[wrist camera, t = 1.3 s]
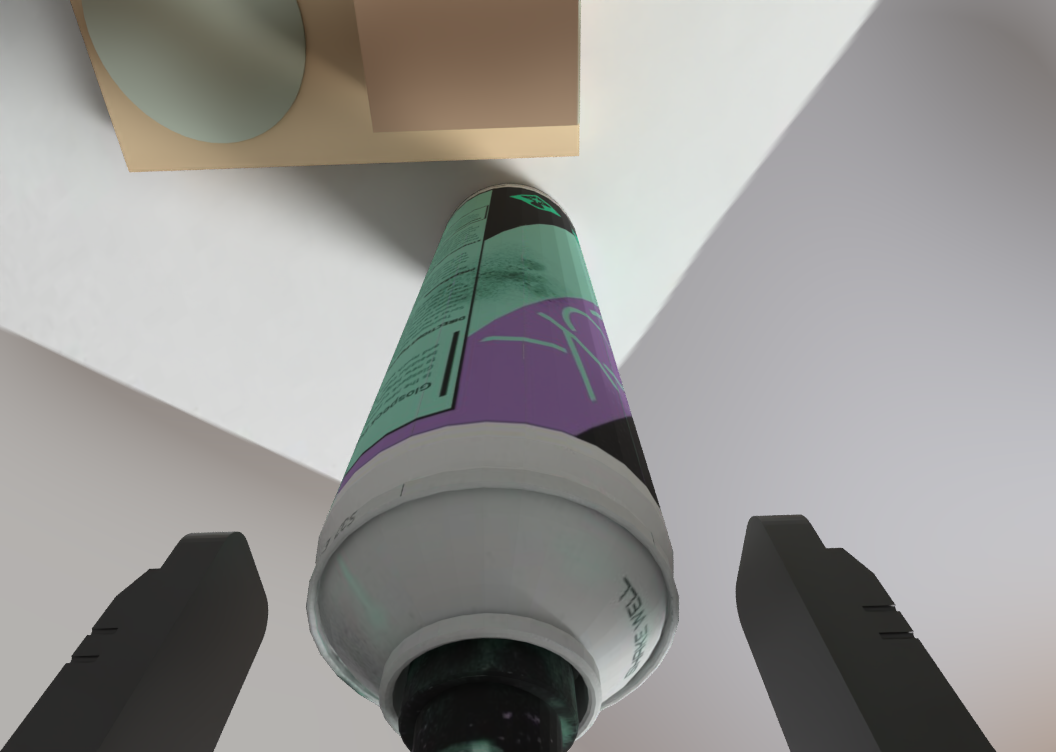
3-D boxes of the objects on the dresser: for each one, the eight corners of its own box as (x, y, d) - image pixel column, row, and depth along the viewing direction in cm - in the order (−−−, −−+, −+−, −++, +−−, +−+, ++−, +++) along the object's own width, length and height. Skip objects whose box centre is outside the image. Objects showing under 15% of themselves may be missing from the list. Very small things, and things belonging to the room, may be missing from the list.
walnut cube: (383, -84, 16) (334, -131, 12) (563, -90, 16) (579, -141, 12) (407, 112, 19) (373, 132, 14) (564, 107, 19) (577, 125, 14)
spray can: (512, 340, 26) (496, 964, 8) (414, 253, 24) (120, 827, 6) (606, 252, 24) (846, 815, 6) (508, 151, 22) (465, 559, 4)
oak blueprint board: (82, -116, 18) (18, -141, 16) (574, -136, 18) (582, -162, 16) (168, 159, 22) (127, 172, 20) (572, 145, 22) (579, 156, 20)
